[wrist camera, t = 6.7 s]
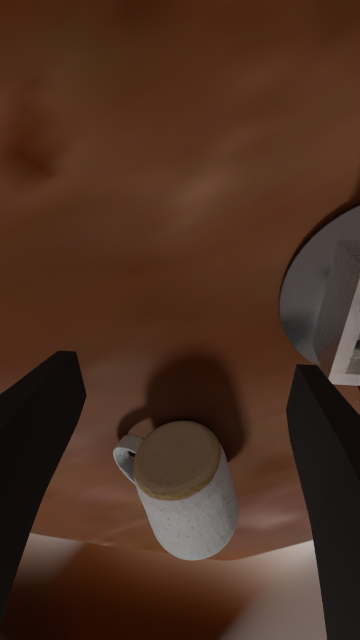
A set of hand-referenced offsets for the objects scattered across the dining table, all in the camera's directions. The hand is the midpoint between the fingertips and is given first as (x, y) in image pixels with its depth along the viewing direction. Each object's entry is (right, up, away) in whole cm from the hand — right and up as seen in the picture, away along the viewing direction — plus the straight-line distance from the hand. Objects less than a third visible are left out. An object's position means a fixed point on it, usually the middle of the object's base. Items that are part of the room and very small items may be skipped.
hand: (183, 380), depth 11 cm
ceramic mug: (0, -10, +19) cm, 21 cm away
